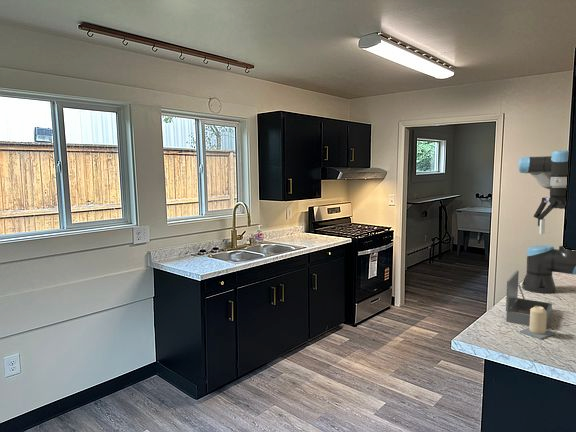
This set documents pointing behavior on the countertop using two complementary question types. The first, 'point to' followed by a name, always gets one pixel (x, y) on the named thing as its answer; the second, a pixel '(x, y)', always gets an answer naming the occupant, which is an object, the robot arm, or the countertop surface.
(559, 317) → the countertop surface
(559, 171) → the robot arm
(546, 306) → the case
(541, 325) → the candle
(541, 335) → the mat
